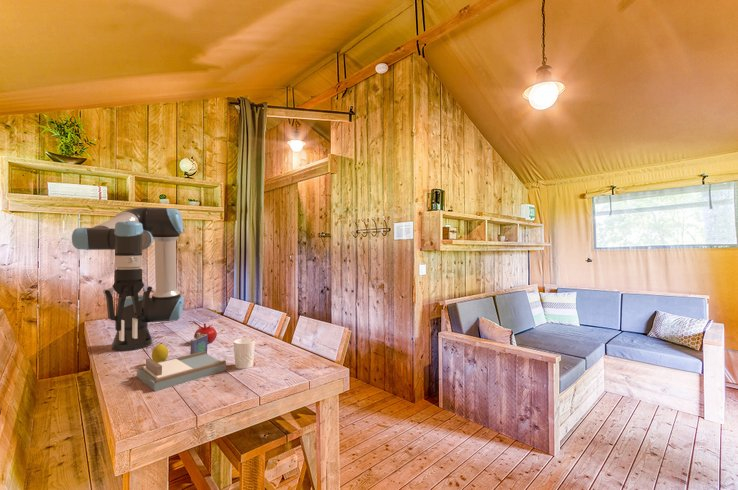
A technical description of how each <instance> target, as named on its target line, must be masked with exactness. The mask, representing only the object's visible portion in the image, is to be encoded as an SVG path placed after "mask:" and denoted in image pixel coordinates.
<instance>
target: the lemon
mask: <svg viewBox="0 0 738 490" xmlns="http://www.w3.org/2000/svg"><path fill="white" fill-rule="evenodd" d="M168 355H169V350H168V347H167V346H166V345H164V344H161V343H159V344H158V345H156V346H154V348H153V349H152V351H151V359H152V360H154V361H155V362H161V361H165V360H167V358H168Z"/></svg>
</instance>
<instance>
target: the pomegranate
mask: <svg viewBox="0 0 738 490" xmlns="http://www.w3.org/2000/svg"><path fill="white" fill-rule="evenodd" d="M196 333H197V334H198V333H201V334H200V335H202V334H207V335H208V341H207V344H209V343H213V342H214V341H215V340H216V338H217V335H218V332H217V330H216V329H215V328H214V327H213V326H212V325H208V326H207V323H203V326H201V325H200V326H198V328H197V329H196V331H195V333H194V335H193V338H195V337H197V334H196Z"/></svg>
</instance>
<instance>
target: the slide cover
mask: <svg viewBox="0 0 738 490" xmlns="http://www.w3.org/2000/svg"><path fill="white" fill-rule="evenodd" d="M172 359H173V358H172ZM168 360H169V359H168ZM145 365H146V366H144V365H143V366H144V367H143V369H144V370H145V371H147V372H148V373H149V374H151V375H152V376H153V377H155V378H156V379H158V378H162V377H166V376H169V375H173V374H177V373H180V372H184V371H188V370H191V369H193V368H191V367H190V366H188V365H186V364H184V363H183V362H181V361H179V360H178V359H173V360H169V361H165V362H161V363H157V362H155V361H154V360H153V359H152V357H150V358H147V359H145Z"/></svg>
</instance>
